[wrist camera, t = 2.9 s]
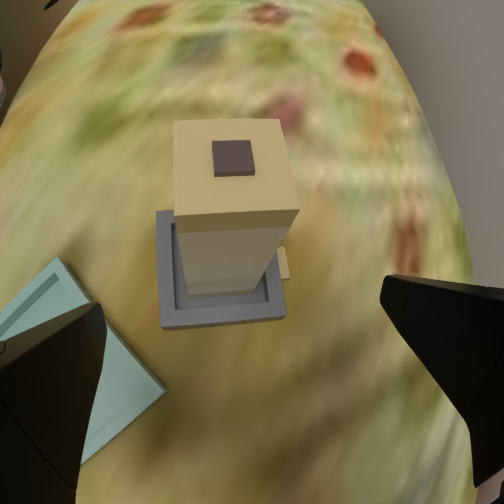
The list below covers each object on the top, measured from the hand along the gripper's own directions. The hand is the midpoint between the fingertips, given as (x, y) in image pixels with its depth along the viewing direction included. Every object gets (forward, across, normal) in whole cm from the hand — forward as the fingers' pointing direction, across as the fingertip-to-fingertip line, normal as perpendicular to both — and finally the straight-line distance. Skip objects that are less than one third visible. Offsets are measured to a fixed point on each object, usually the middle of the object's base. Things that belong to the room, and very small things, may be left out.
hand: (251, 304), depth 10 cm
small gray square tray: (+12, 0, -5) cm, 13 cm away
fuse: (+12, 0, -5) cm, 13 cm away
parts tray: (+7, -12, -10) cm, 18 cm away
